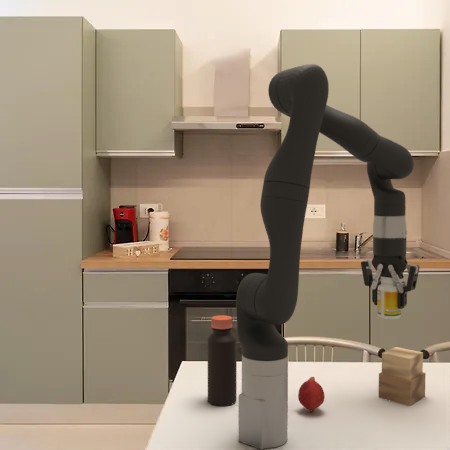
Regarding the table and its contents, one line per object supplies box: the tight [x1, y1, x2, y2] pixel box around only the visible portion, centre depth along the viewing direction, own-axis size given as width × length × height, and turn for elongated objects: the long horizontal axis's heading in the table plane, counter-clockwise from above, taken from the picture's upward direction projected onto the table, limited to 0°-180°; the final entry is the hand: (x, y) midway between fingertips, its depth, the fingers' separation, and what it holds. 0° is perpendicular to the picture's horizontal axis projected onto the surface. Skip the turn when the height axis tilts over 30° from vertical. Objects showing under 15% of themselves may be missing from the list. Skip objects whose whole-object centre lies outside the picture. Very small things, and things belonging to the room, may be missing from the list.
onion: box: [297, 376, 325, 413], centre depth 131 cm, size 6×6×8 cm
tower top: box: [381, 346, 424, 380], centre depth 140 cm, size 7×7×5 cm
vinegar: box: [207, 315, 237, 407], centre depth 137 cm, size 7×7×20 cm
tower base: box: [378, 371, 427, 407], centre depth 140 cm, size 8×8×6 cm
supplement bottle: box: [376, 276, 402, 320], centre depth 137 cm, size 5×5×10 cm
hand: (389, 306), depth 138 cm, fingers closed on supplement bottle, 5 cm apart
